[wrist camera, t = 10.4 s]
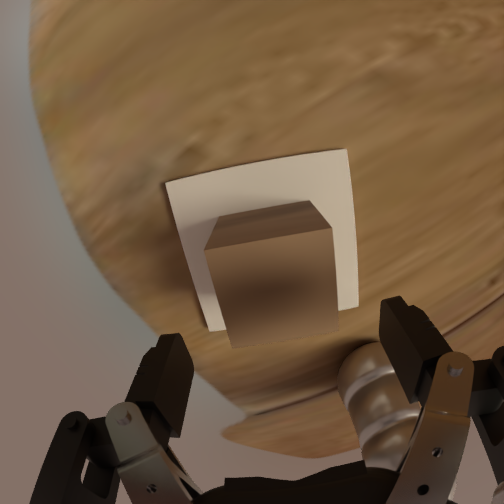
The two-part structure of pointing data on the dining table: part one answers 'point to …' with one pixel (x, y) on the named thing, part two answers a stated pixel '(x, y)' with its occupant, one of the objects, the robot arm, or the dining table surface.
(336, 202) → the plate
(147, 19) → the dining table surface
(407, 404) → the plastic bottle
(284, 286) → the cube
